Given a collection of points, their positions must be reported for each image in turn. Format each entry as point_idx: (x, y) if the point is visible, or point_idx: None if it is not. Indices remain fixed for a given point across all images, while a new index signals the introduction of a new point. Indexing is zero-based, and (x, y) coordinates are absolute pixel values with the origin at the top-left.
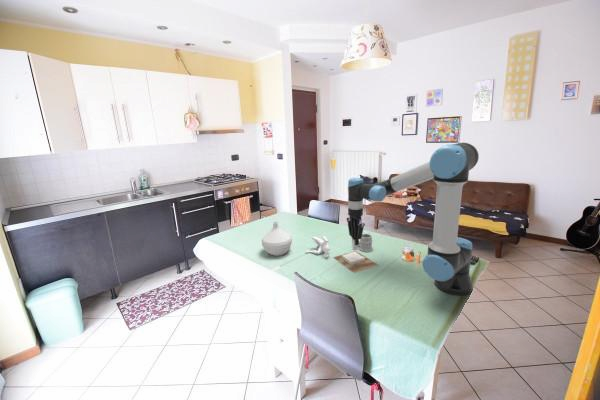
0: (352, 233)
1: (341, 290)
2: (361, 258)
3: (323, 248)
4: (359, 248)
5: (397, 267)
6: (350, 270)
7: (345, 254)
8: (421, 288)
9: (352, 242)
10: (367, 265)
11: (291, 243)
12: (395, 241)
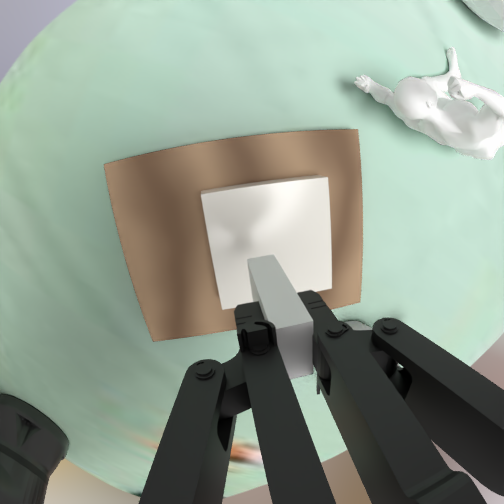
0: (347, 378)
1: (22, 60)
2: (225, 286)
3: (423, 79)
4: (365, 327)
5: (137, 392)
6: (139, 155)
7: (329, 208)
8: (5, 365)
9: (292, 291)
10: (165, 286)
11: (491, 5)
12: (338, 445)
